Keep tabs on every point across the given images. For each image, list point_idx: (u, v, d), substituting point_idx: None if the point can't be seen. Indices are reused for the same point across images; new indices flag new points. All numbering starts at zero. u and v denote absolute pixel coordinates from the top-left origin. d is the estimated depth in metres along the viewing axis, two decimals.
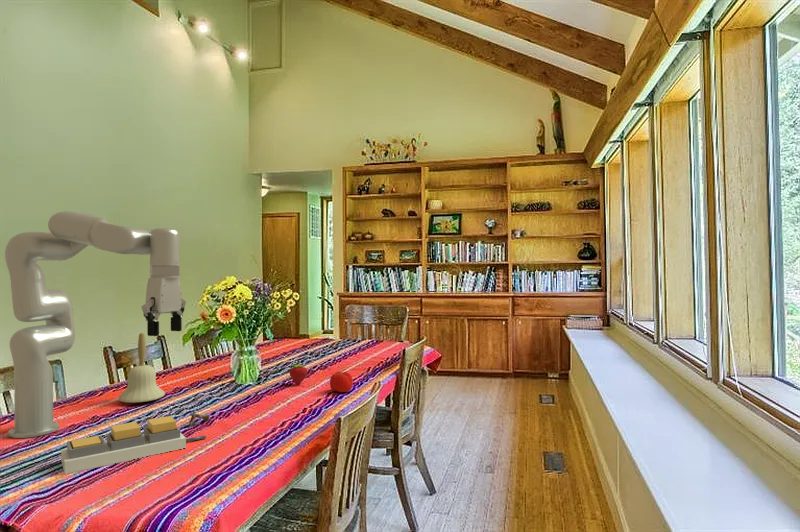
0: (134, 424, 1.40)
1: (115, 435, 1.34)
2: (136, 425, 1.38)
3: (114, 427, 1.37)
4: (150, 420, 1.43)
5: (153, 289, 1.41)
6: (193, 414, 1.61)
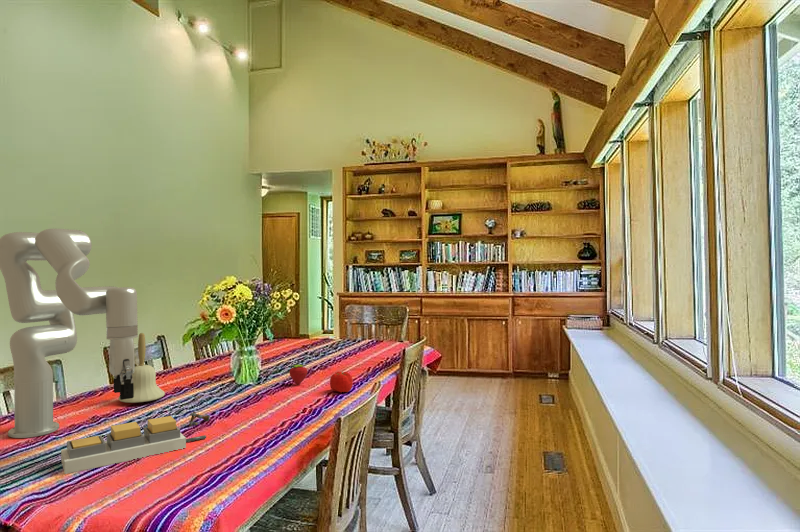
0: (134, 424, 1.40)
1: (115, 435, 1.34)
2: (136, 425, 1.38)
3: (114, 427, 1.37)
4: (150, 420, 1.43)
5: (126, 351, 1.37)
6: (193, 414, 1.61)
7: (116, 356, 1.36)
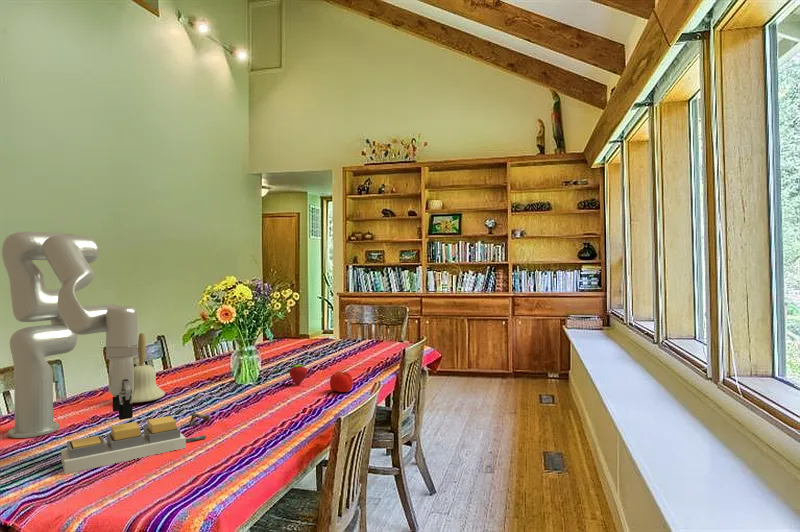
0: (134, 424, 1.40)
1: (115, 435, 1.34)
2: (136, 425, 1.38)
3: (114, 427, 1.37)
4: (150, 420, 1.43)
5: (125, 371, 1.38)
6: (193, 414, 1.61)
7: (115, 376, 1.36)
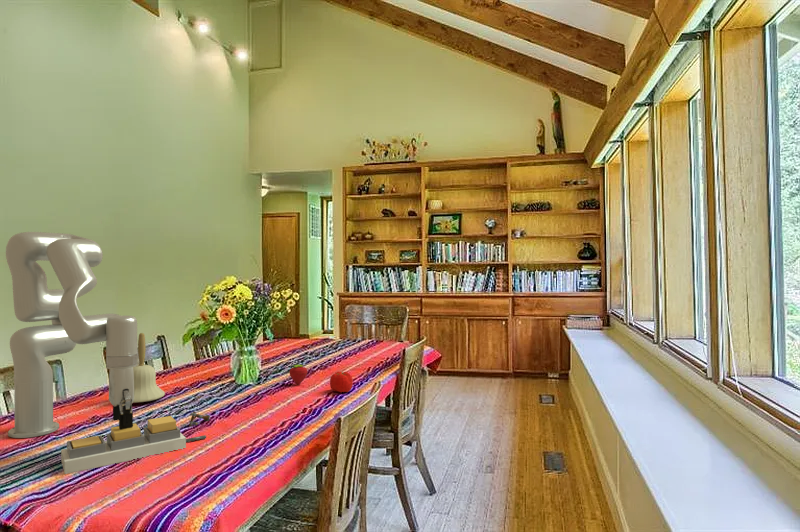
0: (134, 425, 1.40)
1: (115, 437, 1.34)
2: (136, 427, 1.38)
3: (114, 428, 1.37)
4: (150, 420, 1.43)
5: (126, 380, 1.38)
6: (193, 414, 1.61)
7: (116, 386, 1.36)
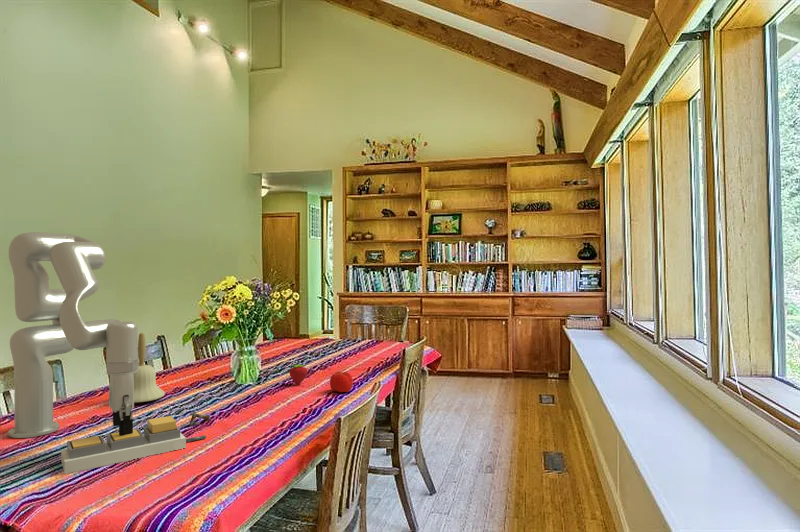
0: (134, 431, 1.40)
1: None
2: (136, 433, 1.38)
3: (114, 434, 1.37)
4: (150, 420, 1.43)
5: (126, 387, 1.38)
6: (193, 414, 1.61)
7: (116, 392, 1.36)
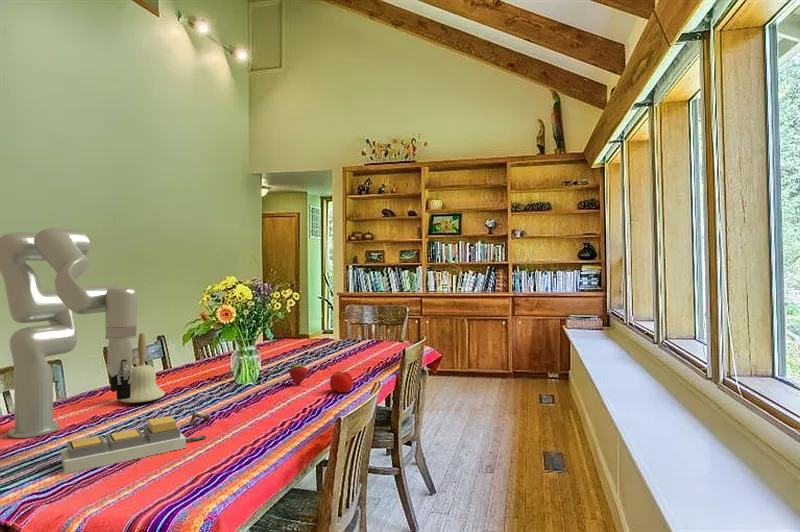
0: (134, 431, 1.40)
1: None
2: (136, 433, 1.38)
3: (114, 434, 1.37)
4: (150, 420, 1.43)
5: (124, 351, 1.38)
6: (194, 414, 1.61)
7: (114, 356, 1.37)
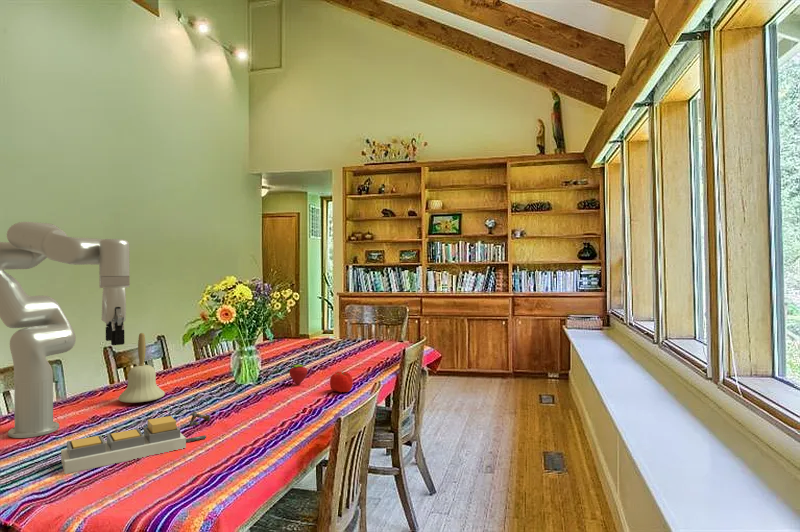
0: (134, 431, 1.40)
1: None
2: (136, 433, 1.38)
3: (114, 434, 1.37)
4: (150, 420, 1.43)
5: (118, 299, 1.43)
6: (194, 414, 1.61)
7: (108, 303, 1.42)
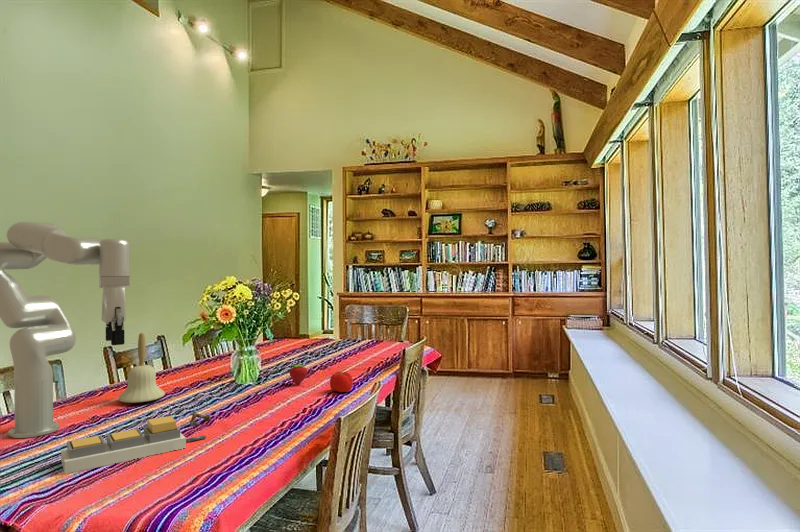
0: (134, 431, 1.40)
1: None
2: (136, 433, 1.38)
3: (114, 434, 1.37)
4: (150, 420, 1.43)
5: (118, 299, 1.43)
6: (194, 414, 1.61)
7: (108, 303, 1.42)
